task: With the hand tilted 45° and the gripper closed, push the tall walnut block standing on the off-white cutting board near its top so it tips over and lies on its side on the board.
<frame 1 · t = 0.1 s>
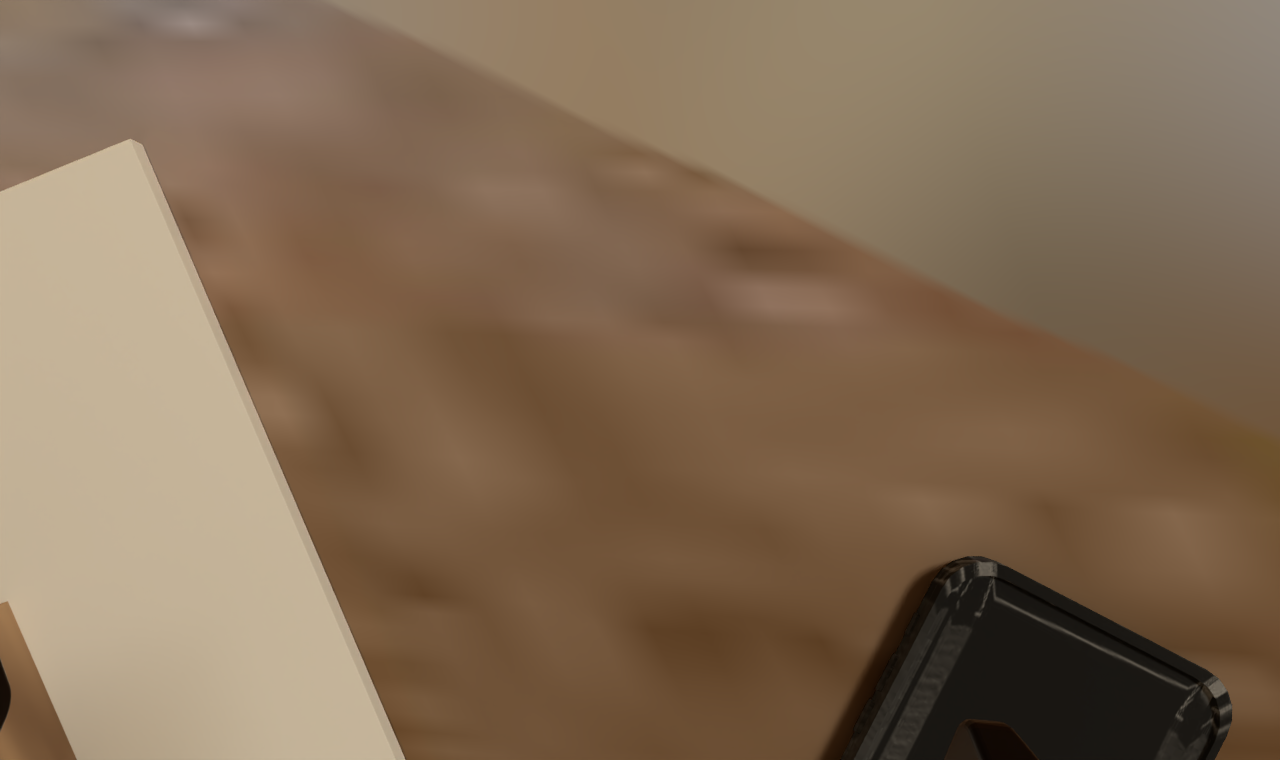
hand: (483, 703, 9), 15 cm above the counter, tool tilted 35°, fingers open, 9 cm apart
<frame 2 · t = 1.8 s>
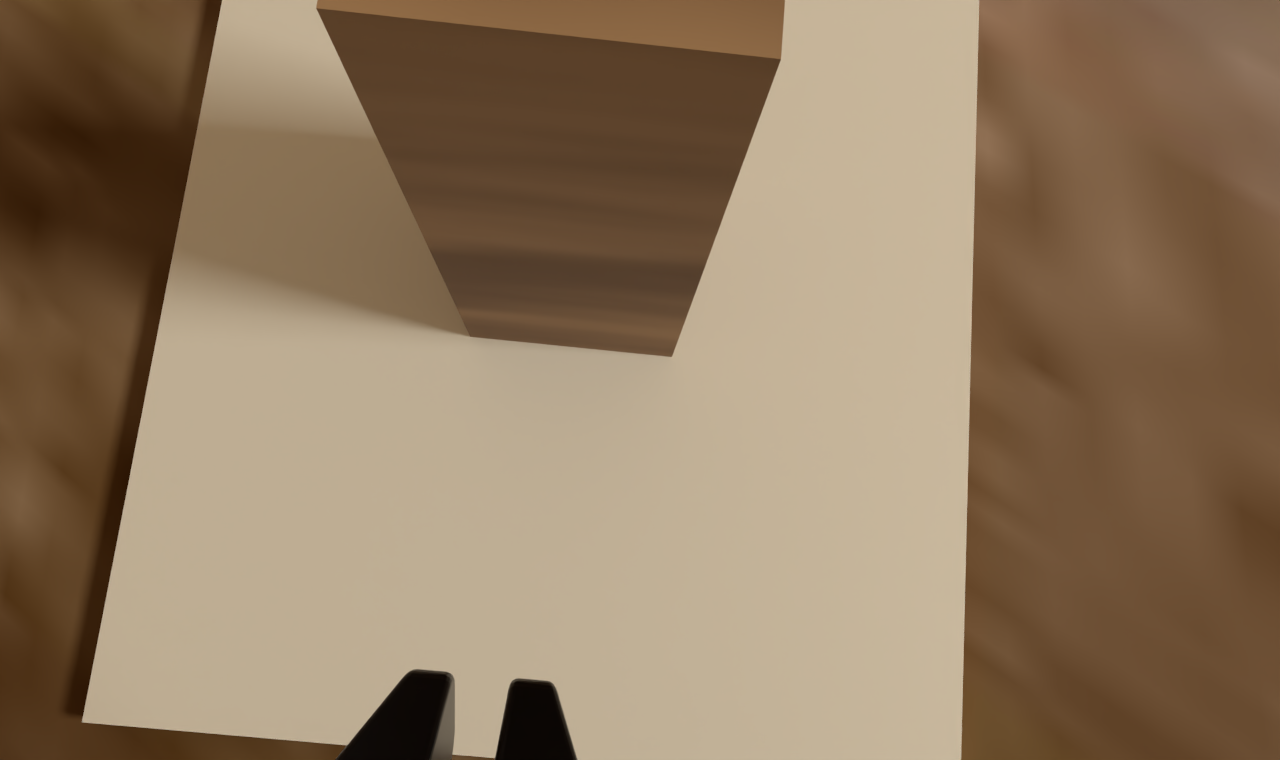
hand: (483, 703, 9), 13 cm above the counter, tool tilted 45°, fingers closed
cutting board: (581, 259, 24), on the counter
walnut block: (581, 250, 23), point 1 cm above the counter, touching cutting board
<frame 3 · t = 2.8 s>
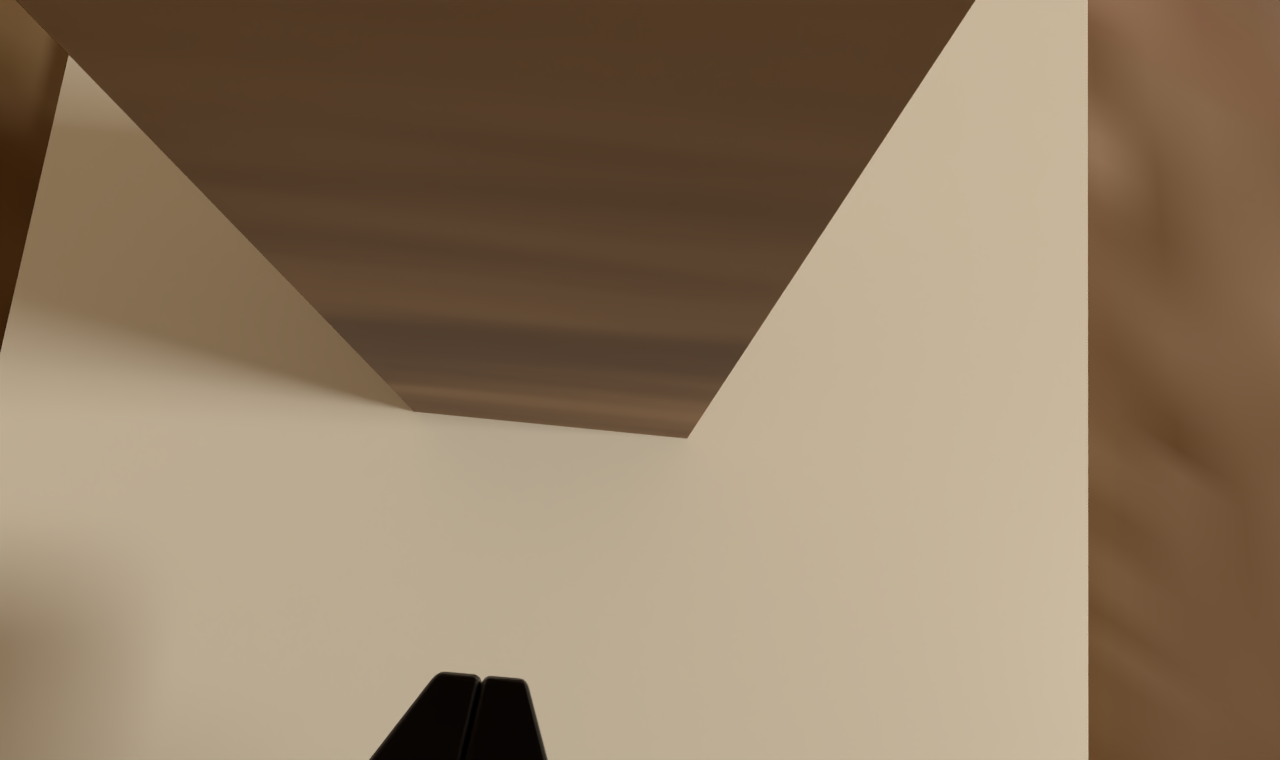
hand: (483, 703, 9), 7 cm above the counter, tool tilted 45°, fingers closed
cutting board: (566, 304, 18), on the counter
walnut block: (565, 294, 17), point 1 cm above the counter, touching cutting board
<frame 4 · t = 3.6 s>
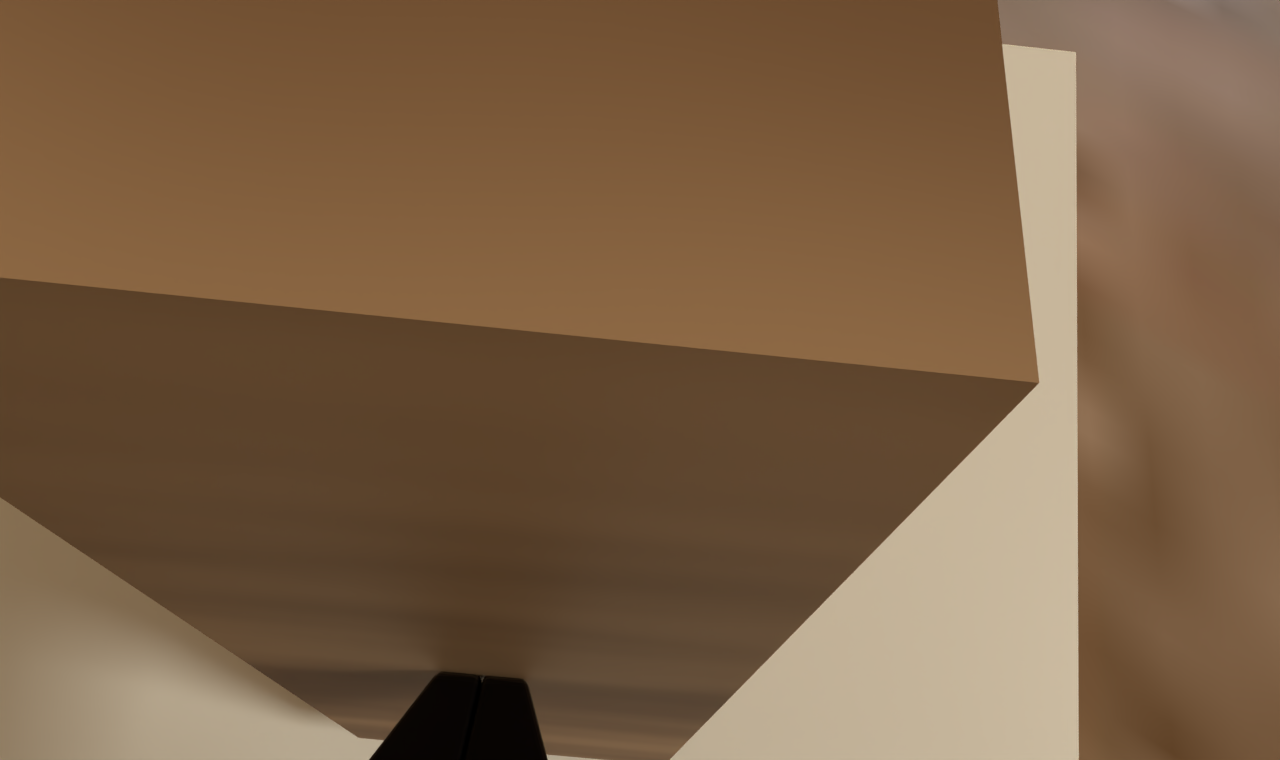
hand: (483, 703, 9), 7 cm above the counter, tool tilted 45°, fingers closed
cutting board: (534, 603, 17), on the counter
walnut block: (531, 599, 16), point 1 cm above the counter, tilted 14°, touching cutting board
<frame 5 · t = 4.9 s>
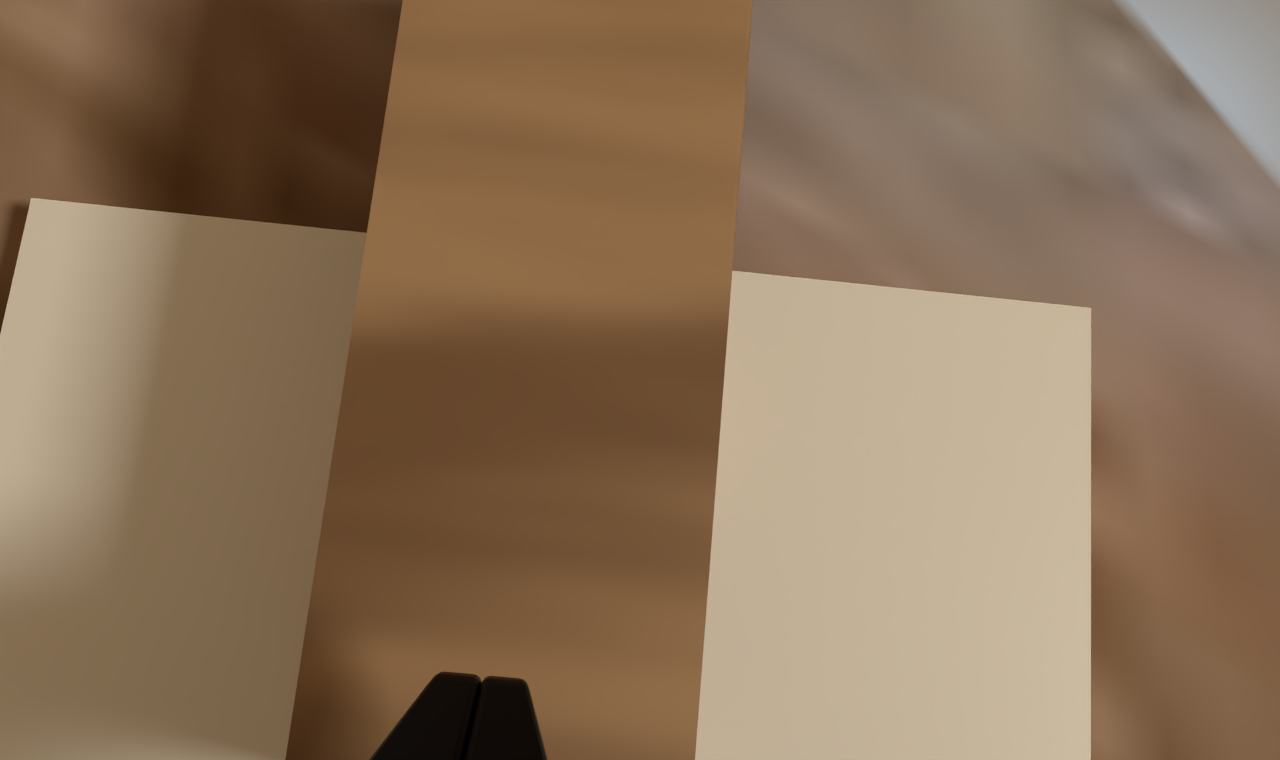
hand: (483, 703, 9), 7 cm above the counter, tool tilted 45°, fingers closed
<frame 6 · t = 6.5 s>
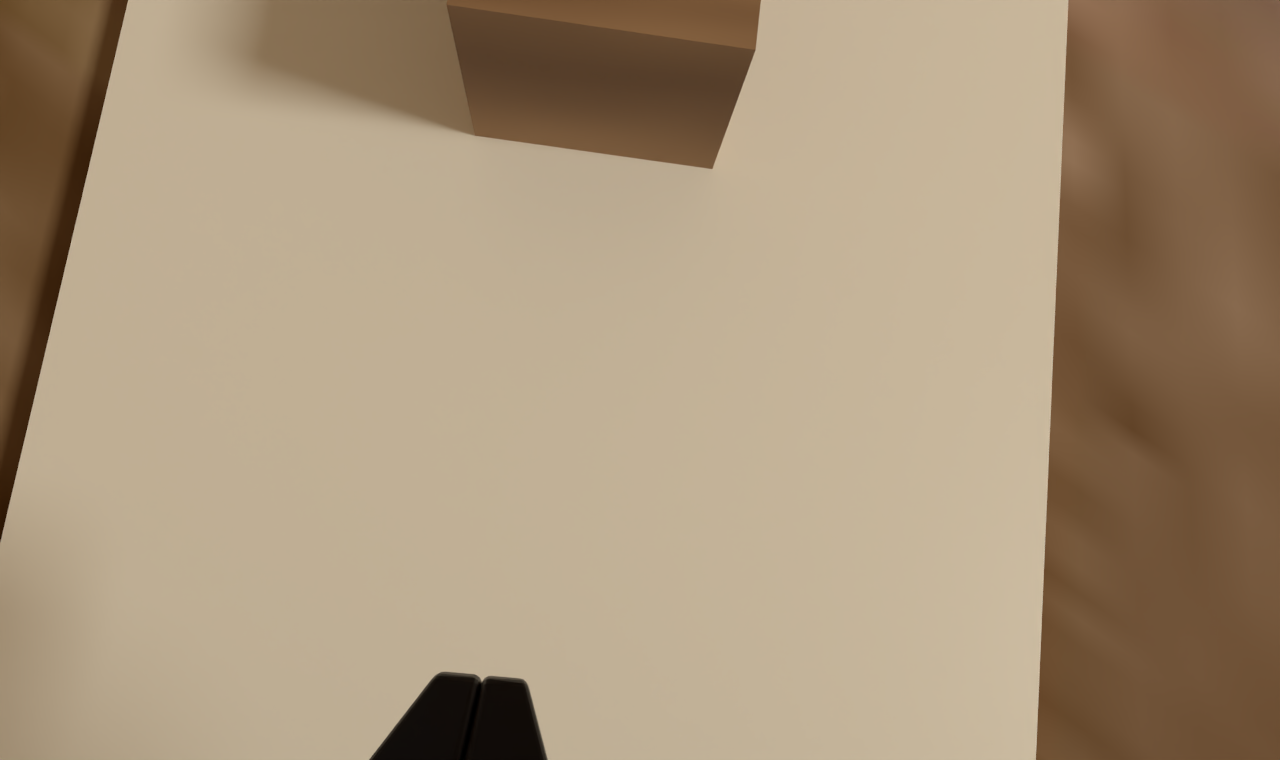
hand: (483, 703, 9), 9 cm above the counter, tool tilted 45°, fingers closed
cutting board: (577, 279, 19), on the counter
walnut block: (597, 98, 17), point 3 cm above the counter, tilted 90°, touching cutting board
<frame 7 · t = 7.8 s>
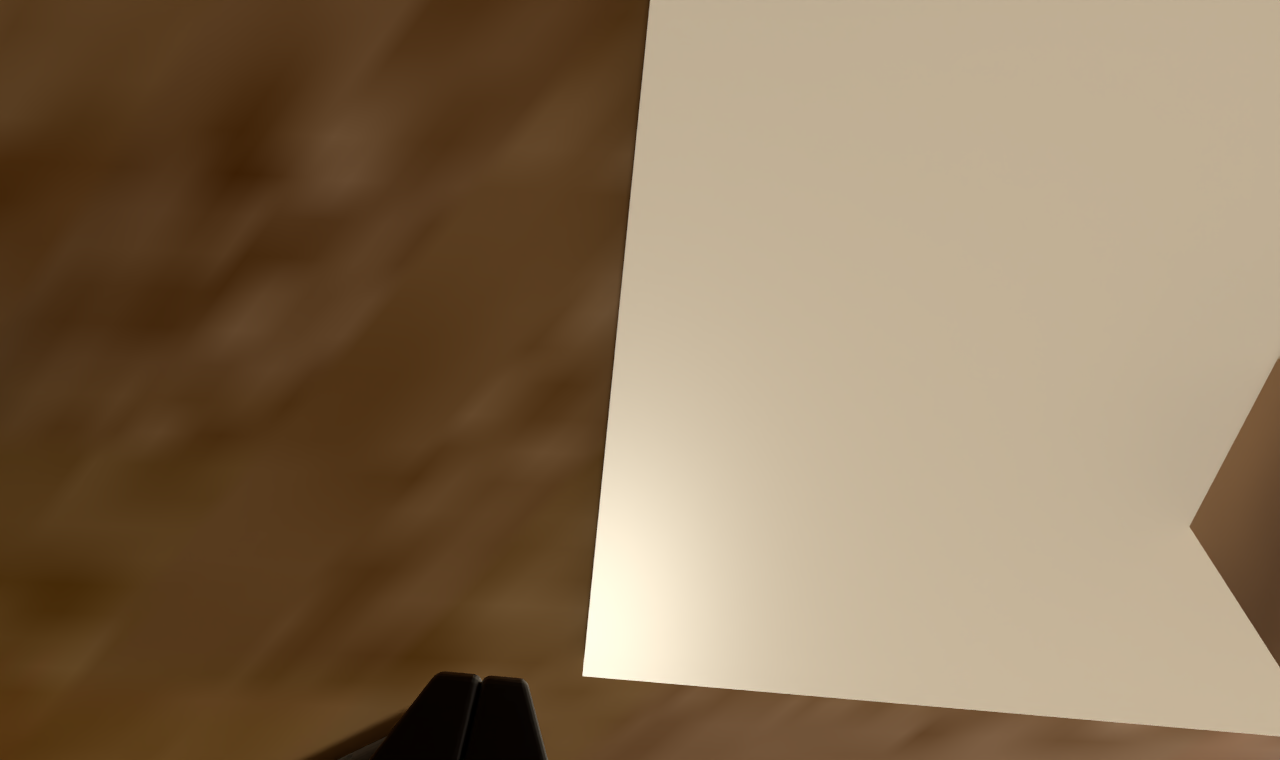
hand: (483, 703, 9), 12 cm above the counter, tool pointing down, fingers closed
cutting board: (1114, 421, 22), on the counter
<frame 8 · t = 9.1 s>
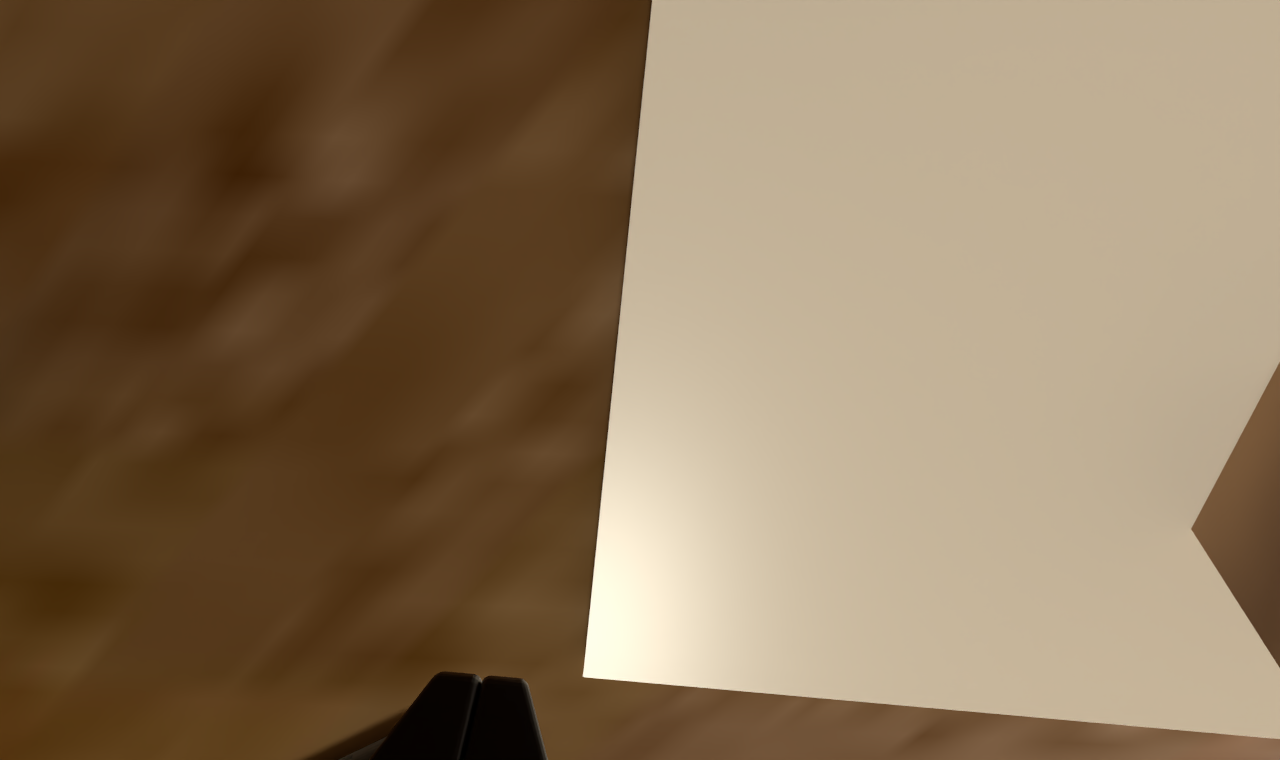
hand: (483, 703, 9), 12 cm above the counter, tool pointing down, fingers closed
cutting board: (1116, 423, 22), on the counter
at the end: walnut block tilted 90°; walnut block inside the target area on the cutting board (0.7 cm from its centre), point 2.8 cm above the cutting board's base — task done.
